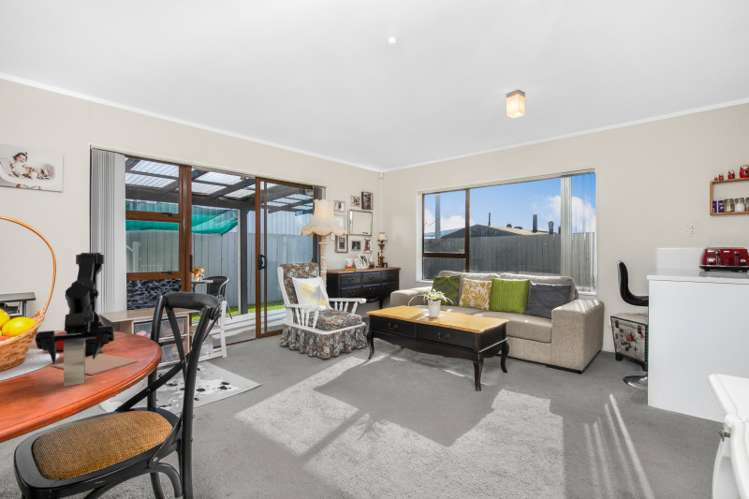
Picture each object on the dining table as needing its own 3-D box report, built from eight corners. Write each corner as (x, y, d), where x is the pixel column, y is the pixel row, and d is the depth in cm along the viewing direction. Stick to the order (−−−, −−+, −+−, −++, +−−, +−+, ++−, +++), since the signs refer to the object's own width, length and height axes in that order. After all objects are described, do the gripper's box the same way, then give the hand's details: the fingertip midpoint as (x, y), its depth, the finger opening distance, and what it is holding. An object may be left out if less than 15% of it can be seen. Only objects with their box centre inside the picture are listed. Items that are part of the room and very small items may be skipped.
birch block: (66, 381, 110) (66, 340, 110) (85, 378, 112) (85, 338, 112) (63, 386, 106) (63, 343, 106) (83, 383, 109) (83, 341, 108)
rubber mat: (52, 366, 123) (52, 365, 123) (100, 354, 137) (100, 353, 137) (91, 375, 115) (91, 374, 115) (138, 361, 129) (138, 360, 129)
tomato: (54, 347, 147) (54, 331, 147) (87, 344, 150) (87, 329, 150) (42, 353, 137) (42, 336, 137) (77, 351, 141) (77, 334, 141)
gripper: (36, 305, 107) (26, 351, 98) (113, 300, 118) (111, 342, 108) (42, 326, 114) (33, 371, 105) (115, 320, 124) (112, 361, 115)
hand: (74, 360), depth 108 cm, fingers open, 9 cm apart
